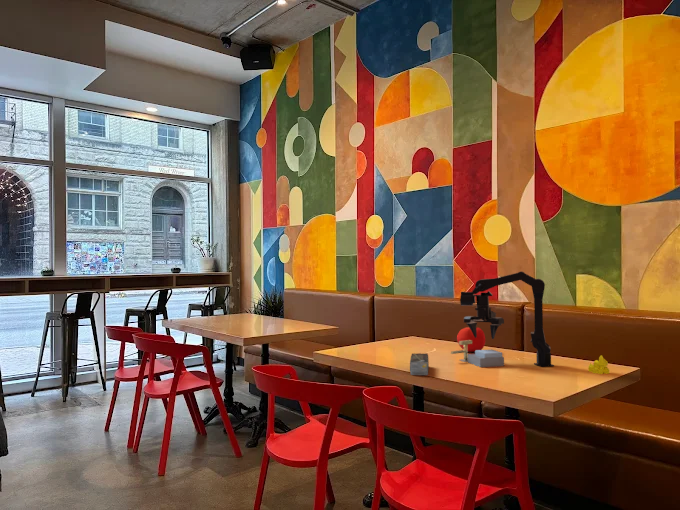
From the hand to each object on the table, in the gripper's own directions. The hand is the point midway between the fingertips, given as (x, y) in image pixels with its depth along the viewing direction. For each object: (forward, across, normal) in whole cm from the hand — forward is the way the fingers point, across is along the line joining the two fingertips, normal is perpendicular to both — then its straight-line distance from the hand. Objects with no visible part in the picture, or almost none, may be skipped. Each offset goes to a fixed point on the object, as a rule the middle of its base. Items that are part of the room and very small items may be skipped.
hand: (484, 338), depth 248 cm
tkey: (+11, +9, +7) cm, 15 cm away
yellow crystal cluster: (+13, -47, -13) cm, 50 cm away
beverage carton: (+11, +11, +37) cm, 40 cm away
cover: (+7, -4, +4) cm, 10 cm away
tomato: (+11, +20, -19) cm, 30 cm away
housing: (+11, 0, +4) cm, 12 cm away
